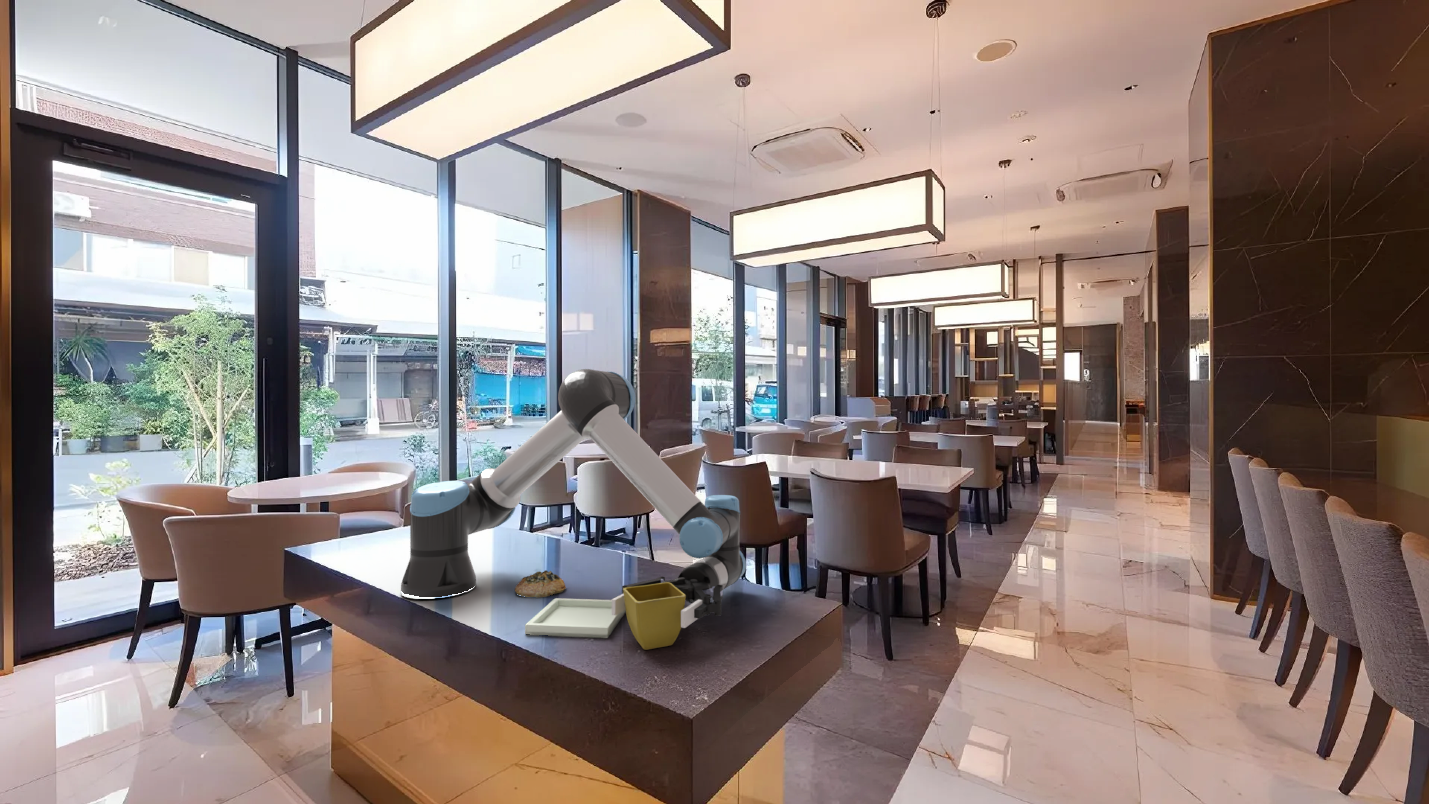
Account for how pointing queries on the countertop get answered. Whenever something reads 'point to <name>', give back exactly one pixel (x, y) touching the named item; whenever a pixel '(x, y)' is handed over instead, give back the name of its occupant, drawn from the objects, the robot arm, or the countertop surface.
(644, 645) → the flower pot
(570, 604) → the tray
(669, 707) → the countertop surface
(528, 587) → the bread roll
